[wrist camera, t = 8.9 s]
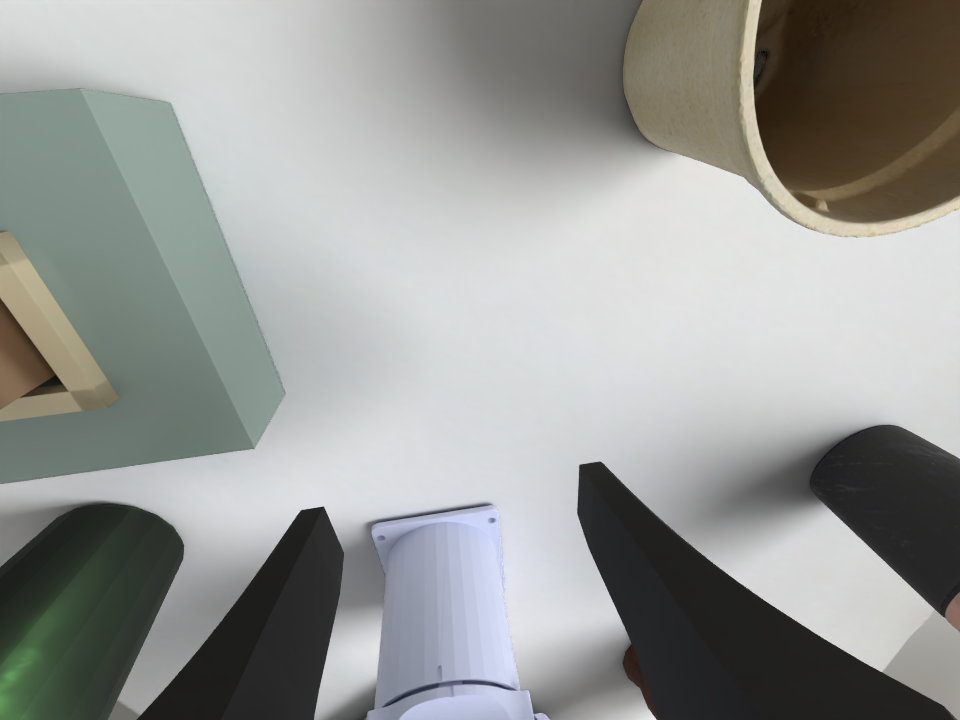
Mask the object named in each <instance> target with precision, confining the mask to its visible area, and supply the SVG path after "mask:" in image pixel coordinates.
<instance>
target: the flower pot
mask: <svg viewBox="0 0 960 720" xmlns="http://www.w3.org/2000/svg"><path fill="white" fill-rule="evenodd" d="M759 51H766V52H767V59H766V64H765V66H764V68H763V70H762V72H761V73H760V76H759V77H758V78H757V82H756V84H755V86H754V87H753V71H754V64H755V61H756V58H757V57H758V56H757V55H758V52H759ZM623 89H624V94H625V97H626V99H627V102H628V105H629V107H630V110H631V113H632V116H633V118H634V120H635V122H636V124H637V126H638V128H639V130H640V132H641V133H642V134H643V136H644V137H645V138H647V139H648V140H649V141H650V142H652V143H653V144H655V145H656V146H658V147H660V148H662V149H665V150H667V151H671V152H675V153H678V154H680V155H683V156H686V157H689V158H692V159H695V160H698V161H701V162H704V163H707V164H709V165H712V166H715V167H718V168H720V169H723V170H726V171H729V172H731V173H734V174H737V175H739V176H742V177H744V178H745V179H746V180H747V181H748V182H749V183H750V184H751V185H752V186H754V187H755V188H756V189H758V190H759V191H760V193H761V194H762V195H763V196H764V197H765V198H766V200H767V201H768V202H769V203H770V204H771V205H772V206H773V207H774V208H775V209H776V210H778V211H779V212H780V213H781V214H782V215H784V216H785V217H787V218H788V219H790V220H792V221H793V222H795V223H797V224H799V225H802V226H804V227H806V228H808V229H811V230H814V231H817V232H820V233H823V234H829V235H834V236H840V237H856V238H858V237H873V236H880V235H886V234H893V233H897V232H901V231H904V230H907V229H910V228H915V227H919V226H921V225H922V224H924V223H928V222H931V221H934V220H936V219H938V218H940V217H943V216H945V215H947V214H948V213H950V212H952V211H955V210H958V209H959V208H960V0H643V1H642V3H641V5H640V7H639V9H638V11H637V13H636V16H635V18H634V20H633V23H632V26H631V28H630V32H629V35H628V39H627V43H626V48H625V54H624V64H623Z"/></svg>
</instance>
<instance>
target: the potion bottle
mask: <svg viewBox="0 0 960 720" xmlns="http://www.w3.org/2000/svg"><path fill="white" fill-rule="evenodd" d="M183 554H184V544H183V542H182V540H181V538H180V536H179V535H178V533H177V532H176V530H175V528H174V527H173V526H171V525H170V524H169V523H167V522H166V521H164V520H163V519H162V518H160V517H159V516H157V515H155V514H152V513H149V512H147V511H144V510H141V509H139V508H136V507H130V506H122V505H115V504H103V505H94V506H86V507H81V508H77V509H75V510H72V511H70V512H68V513H66V514H64V515H62V516H59V517H58V518H56V519H55V520H54V521H53V522H52V523H51V524H50V525H48V526H47V527H46V528H45V529H44V530H43V531H41V532H40V533H39V534H38V535H37V536H36V537H35V538H33V539H32V540H31V541H30V542H29V543H28V544H26V545H25V546H24V547H23V548H22V549H21V550H20V551H18V552H17V553H16V554H15V555H14V556H13V557H11V558H10V559H9V560H8V561H7V562H6V563H5V564H3V565H2V566H1V567H0V720H108V718H109V716H110V714H111V712H112V709H113V707H114V705H115V703H116V701H117V699H118V697H119V695H120V692H121V690H122V688H123V686H124V684H125V682H126V680H127V678H128V675H129V673H130V671H131V669H132V667H133V665H134V663H135V661H136V658H137V656H138V654H139V652H140V650H141V648H142V646H143V643H144V641H145V639H146V637H147V635H148V633H149V631H150V629H151V626H152V624H153V622H154V620H155V618H156V616H157V614H158V612H159V609H160V607H161V605H162V603H163V601H164V599H165V597H166V594H167V592H168V590H169V588H170V586H171V584H172V582H173V580H174V577H175V575H176V573H177V571H178V569H179V567H180V565H181V563H182V560H183Z"/></svg>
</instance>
